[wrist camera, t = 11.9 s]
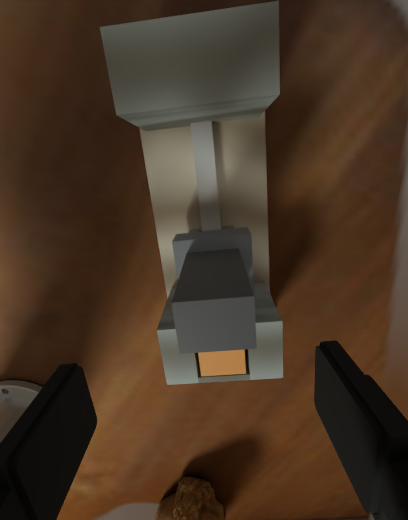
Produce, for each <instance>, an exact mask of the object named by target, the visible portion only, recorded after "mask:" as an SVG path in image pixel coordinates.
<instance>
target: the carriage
mask: <svg viewBox="0 0 408 520" xmlns="http://www.w3.org/2000/svg"><path fill="white" fill-rule="evenodd" d="M172 245H173V252H174V259H175V266H176V272H177V279H178V283H177V286H176V289H175V293H174V296H173V299H172V302H171V304H172V310H173V316H174V322H175V328H176V335H177V341H178V347H179V353H180V354H185V353H200V352H215V351H230V350H245V349H257V343H256V322H255V302H254V279H253V258H252V237H251V233H250V231H249V229H248V228H247V227H244V228H234V227H233V226H224V229H223V230H212V231H202V232H199V229H192V230H190V232H189V233H181V234H176V235H175V237H174V239H173V241H172Z"/></svg>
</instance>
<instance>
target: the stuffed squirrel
mask: <svg viewBox="0 0 408 520" xmlns="http://www.w3.org/2000/svg"><path fill="white" fill-rule="evenodd" d="M223 511H224V510H223V506H222V504H221V503H220V502H219V501H218V500H216V499H215V494H214V489H213V488H212V487H211V483H209V482H207V481H206V480H205V479H200V478H195V477H183V478H182V480H181V481H179V486H178V488H177V491H176V493H174V494H172V495H170V496H169V497H167V498H165V499H163V500H162V501H161V503H160V505H159V507H158V509H157V512H156V516H155V520H225V519H224V513H223Z"/></svg>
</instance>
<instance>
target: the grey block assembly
mask: <svg viewBox="0 0 408 520" xmlns="http://www.w3.org/2000/svg"><path fill="white" fill-rule="evenodd" d="M100 32H101V37H102V42H103V47H104V53H105V58H106V63H107V69H108V74H109V79H110V85H111V90H112V95H113V100H114V106H115V111H116V115H117V116H119V117H121V118H123V119H124V120H126V121H128V122H130V123H132V124H134V125H135V126H137V127H139V129H140V136H141V142H142V148H143V154H144V160H145V166H146V172H147V178H148V184H149V190H150V196H151V202H152V208H153V214H154V220H155V226H156V232H157V238H158V244H159V250H160V256H161V262H162V268H163V274H164V280H165V286H166V292H167V298H168V299H167V302H166V305H165V308H164V311H163V314H162V317H161V320H160V323H159V326H158V328H157V334H158V339H159V344H160V350H161V355H162V360H163V366H164V371H165V376H166V381H167V385H171V384H188V383H205V382H221V381H238V380H255V379H271V378H283V329H282V319H281V317H280V315H279V313H278V310H277V308H276V306H275V304H274V302H273V299H272V297H271V295H270V279H269V242H268V206H267V169H266V133H265V110H266V109H267V108H268V107H269V106H270V105H271V104H272V102H273V101H274V100H275V99H276V98H277V97H278V96H279V95H280V59H279V1H273V2H266V3H259V4H252V5H246V6H239V7H232V8H226V9H219V10H212V11H205V12H199V13H192V14H185V15H178V16H172V17H165V18H158V19H151V20H145V21H138V22H131V23H125V24H118V25H111V26H104V27H100ZM224 226H233V227H234V228H244V227H247V228H248V229H249V231H250V233H251V237H252V258H253V279H254V302H255V322H256V343H257V349H245V365H246V374H232V375H216V376H201V371H200V363H199V356H198V353H185V354H180V353H179V347H178V341H177V335H176V328H175V322H174V316H173V310H172V304H171V302H172V299H173V296H174V293H175V289H176V286H177V283H178V279H177V272H176V266H175V259H174V252H173V245H172V241H173V239H174V237H175V235H176V234H181V233H189V232H190V230H192V229H199V232H202V231H212V230H223V229H224Z"/></svg>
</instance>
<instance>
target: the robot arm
mask: <svg viewBox="0 0 408 520" xmlns="http://www.w3.org/2000/svg"><path fill="white" fill-rule="evenodd" d="M314 402H315V407H316V410H317V412H318V414H319V416H320V418H321V420H322V423H323V425H324V427H325V429H326V431H327V433H328V435H329V437H330V439H331V441H332V443H333V446H334V448H335V450H336V452H337V454H338V456H339V458H340V460H341V462H342V464H343V467H344V469H345V471H346V473H347V475H348V477H349V479H350V481H351V483H352V485H353V487H354V490H355V492H356V494H357V496H358V498H359V500H360V502H361V504H362V506H363V508H364V510H365V511H366V513H368V514H369V513H372V515H373V517H374V519H375V520H408V421H407V419H406V418H405V417H404V416H403V415H402V413H401V412H400V411H399V410H398V409H397V407H396V406H395V405H394V404H393V403H392V401H391V400H390V399H389V398H388V397H387V395H386V394H385V393H384V392H383V390H382V389H381V388H380V387H379V386H378V384H377V383H376V382H375V381H374V380H373V379H372V378H371V377H370V376H369V375H364V374H363V372H362V371H361V370H360V369H359V367H358V366H357V365H356V364H355V362H354V361H353V360H352V359H351V357H350V356H349V355H348V354H347V352H346V351H345V350H344V349H343V347H342V346H341V345H340V344H339V342H337V341H324V342H321V343H320V346H316V353H315V393H314ZM96 425H97V416H96V413H95V409H94V406H93V402H92V399H91V396H90V392H89V389H88V385H87V382H86V378H85V375H84V372H83V369H82V367H79V366H78V364H77V363H72V364H62V365H60V366H59V367H58V368H57V370H56V371H55V372H54V373H53V375H52V376H51V377H50V379H49V380H48V381H47V383H46V384H45V385H44V386H43V387H41V386H39V385H37V384H33V383H30V382H26V381H18V380H6V381H1V382H0V520H56V519H57V517H58V514H59V512H60V510H61V507H62V505H63V503H64V500H65V498H66V496H67V493H68V491H69V489H70V486H71V484H72V482H73V480H74V477H75V475H76V473H77V470H78V468H79V466H80V463H81V461H82V459H83V456H84V454H85V452H86V449H87V447H88V445H89V442H90V440H91V438H92V436H93V433H94V431H95V429H96Z"/></svg>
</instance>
